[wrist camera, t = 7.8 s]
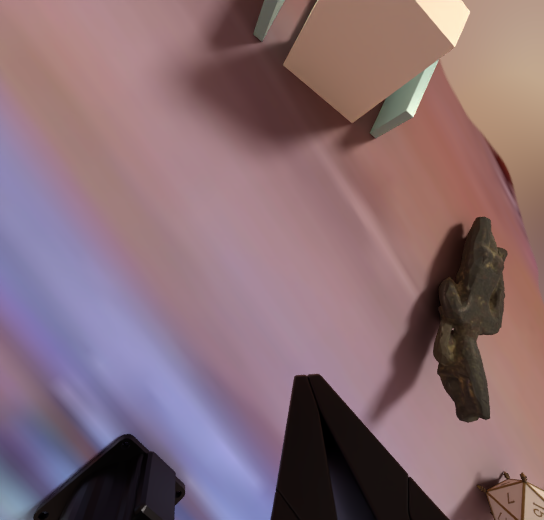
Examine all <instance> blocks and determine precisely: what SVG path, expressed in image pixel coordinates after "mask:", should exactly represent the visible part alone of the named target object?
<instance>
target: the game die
mask: <svg viewBox="0 0 544 520" xmlns="http://www.w3.org/2000/svg"><path fill="white" fill-rule="evenodd" d="M503 475H504V476H505V478H506V480H505V481H503V482H501V483H499V484H497V485H495V486H493V487H491V488H489V489H487V490H486V489H485V488H484V487H482V486H478V485H477V487H478V488H479V489H480V490H481V491H482V492H485V493H486V496H487V499H488V502H489V505H490V508H491V512H490V513H491V514H492V515H493V517H494V520H544V490H542V489H540V488H538V487H536V486H534V485H532V484H530V483H528V482H526V480H527V479H526V478H527V477H526V476H525V475H524V474H523V472H522V473H521V474H520V476H521V479H522V480H516V479H510V477H509V475H508V473H506V472H505V471H504V474H503Z"/></svg>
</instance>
